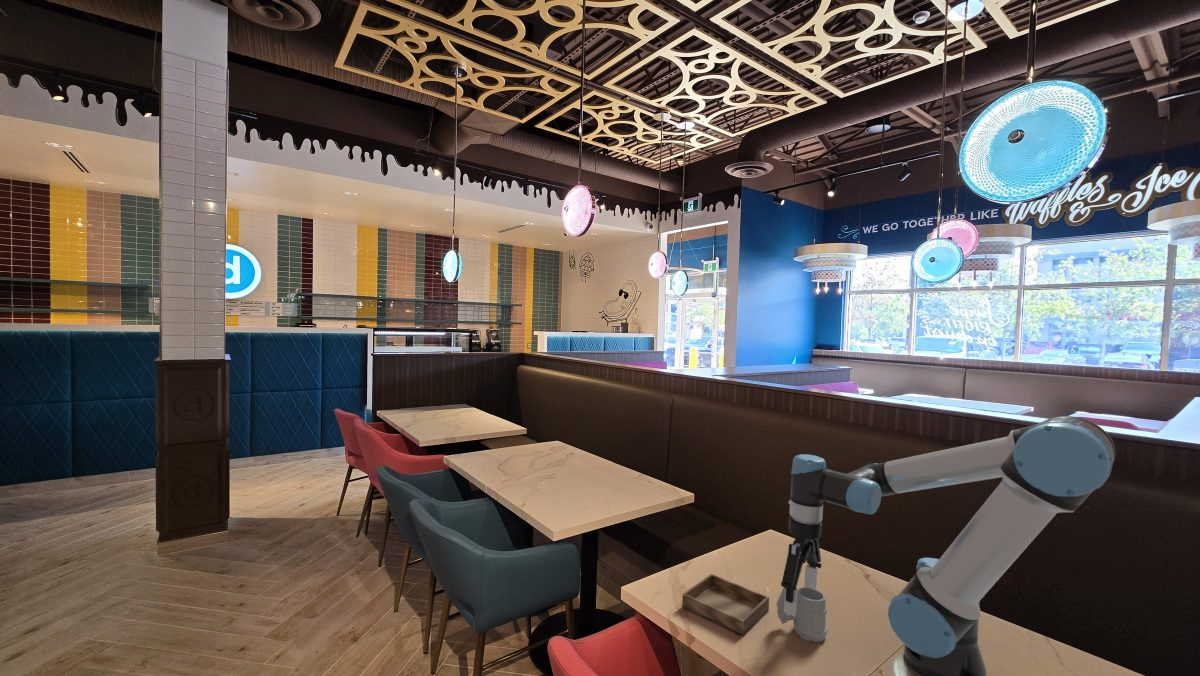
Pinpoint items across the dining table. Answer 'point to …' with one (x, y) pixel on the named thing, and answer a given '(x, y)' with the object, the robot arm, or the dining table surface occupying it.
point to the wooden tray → (726, 604)
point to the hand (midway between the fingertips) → (800, 602)
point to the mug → (806, 614)
